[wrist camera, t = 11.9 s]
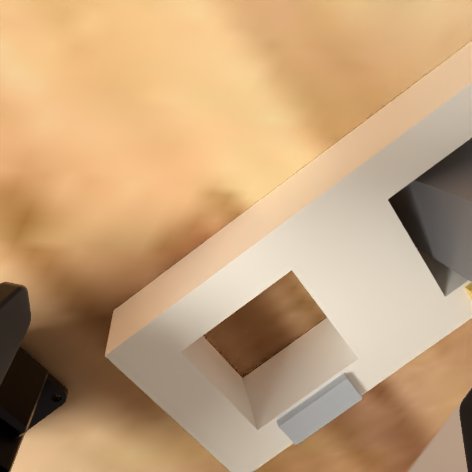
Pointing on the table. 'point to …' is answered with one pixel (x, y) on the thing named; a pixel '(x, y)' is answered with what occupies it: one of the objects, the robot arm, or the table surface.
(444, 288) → the socket block
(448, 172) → the plug
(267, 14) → the table surface
